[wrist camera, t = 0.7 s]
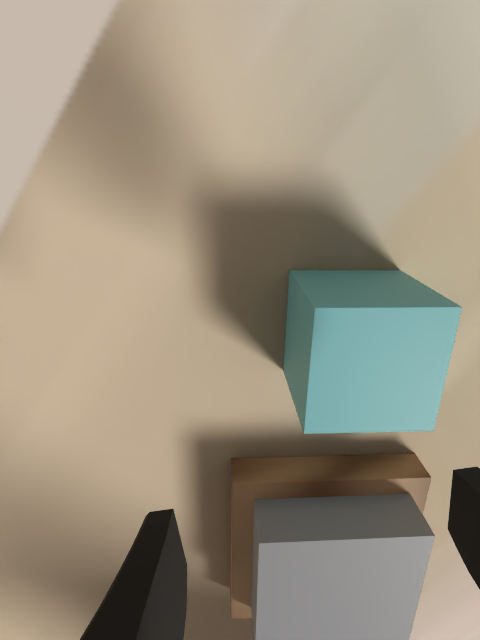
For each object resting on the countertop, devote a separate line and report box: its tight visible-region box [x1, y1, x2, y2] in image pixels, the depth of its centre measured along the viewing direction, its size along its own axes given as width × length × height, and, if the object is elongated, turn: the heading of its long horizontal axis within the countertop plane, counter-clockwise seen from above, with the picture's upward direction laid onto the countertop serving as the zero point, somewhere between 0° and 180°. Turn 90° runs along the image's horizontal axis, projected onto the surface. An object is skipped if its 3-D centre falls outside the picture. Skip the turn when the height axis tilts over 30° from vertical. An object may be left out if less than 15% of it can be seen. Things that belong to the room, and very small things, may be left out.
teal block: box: [283, 270, 462, 434], centre depth 17 cm, size 5×5×5 cm
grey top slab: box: [251, 494, 435, 640], centre depth 21 cm, size 8×8×2 cm
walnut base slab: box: [230, 453, 431, 619], centre depth 23 cm, size 10×10×2 cm
